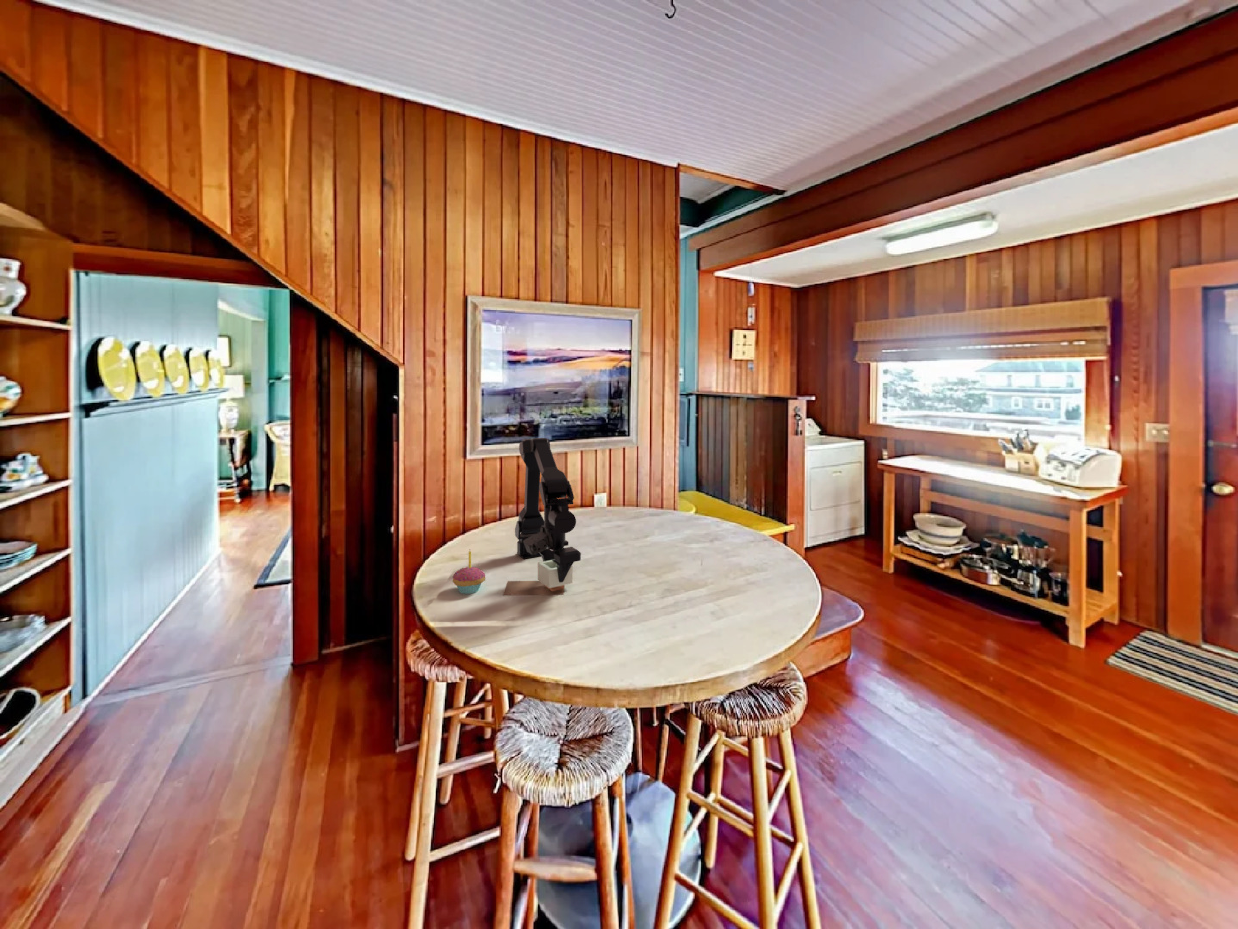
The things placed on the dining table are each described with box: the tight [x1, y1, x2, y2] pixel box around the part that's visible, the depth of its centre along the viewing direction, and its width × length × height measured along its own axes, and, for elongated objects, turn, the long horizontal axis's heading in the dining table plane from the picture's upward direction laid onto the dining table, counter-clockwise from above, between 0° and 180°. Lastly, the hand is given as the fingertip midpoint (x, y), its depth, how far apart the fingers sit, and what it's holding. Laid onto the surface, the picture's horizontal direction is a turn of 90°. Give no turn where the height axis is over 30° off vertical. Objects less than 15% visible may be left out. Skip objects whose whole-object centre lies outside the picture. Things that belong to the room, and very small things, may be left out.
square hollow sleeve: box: [537, 559, 573, 588], centre depth 153 cm, size 7×7×5 cm
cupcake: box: [452, 550, 486, 594], centre depth 151 cm, size 9×8×12 cm
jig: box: [502, 580, 565, 596], centre depth 153 cm, size 16×10×6 cm, turn 94°
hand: (554, 577), depth 154 cm, fingers closed on square hollow sleeve, 7 cm apart
